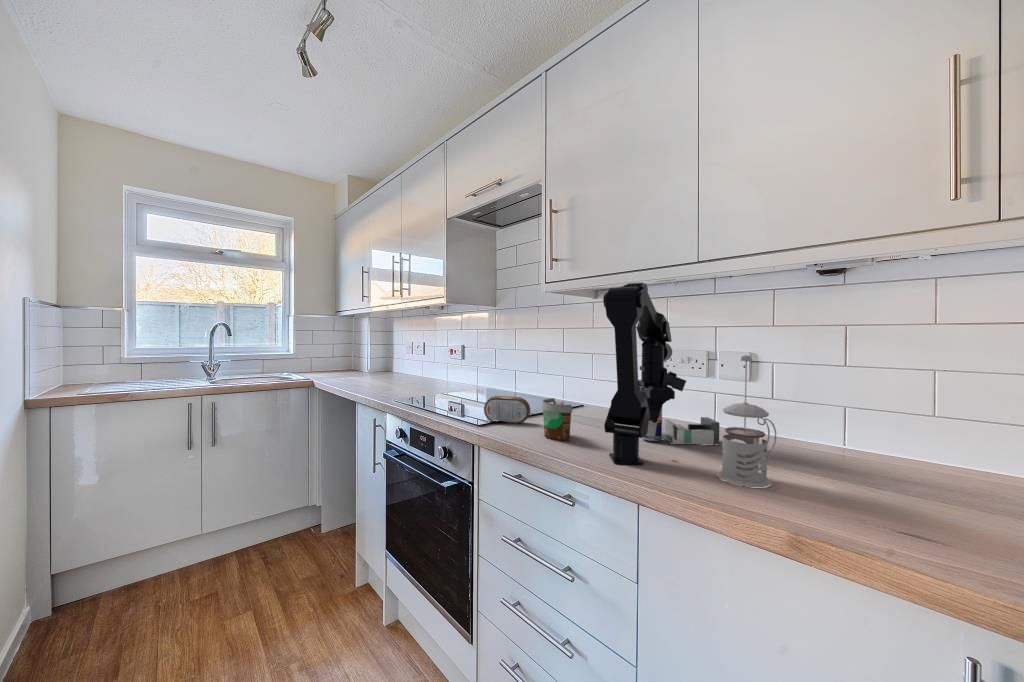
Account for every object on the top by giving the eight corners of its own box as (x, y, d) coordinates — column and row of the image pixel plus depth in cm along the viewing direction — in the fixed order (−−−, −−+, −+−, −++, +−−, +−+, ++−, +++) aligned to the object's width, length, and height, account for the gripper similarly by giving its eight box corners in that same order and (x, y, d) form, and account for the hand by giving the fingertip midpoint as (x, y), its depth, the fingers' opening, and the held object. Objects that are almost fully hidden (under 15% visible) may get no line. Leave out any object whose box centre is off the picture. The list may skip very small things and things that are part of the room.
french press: (705, 472, 85) (708, 353, 85) (752, 469, 88) (755, 353, 87) (741, 490, 76) (744, 356, 75) (792, 486, 78) (796, 356, 78)
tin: (530, 422, 131) (530, 396, 131) (528, 424, 128) (529, 398, 128) (485, 420, 134) (485, 395, 134) (482, 422, 131) (483, 396, 131)
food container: (533, 432, 118) (534, 398, 118) (553, 431, 120) (553, 397, 119) (550, 444, 106) (550, 406, 106) (571, 442, 108) (572, 405, 108)
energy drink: (650, 442, 107) (651, 397, 107) (636, 437, 112) (637, 394, 112) (666, 440, 109) (666, 396, 109) (651, 435, 114) (652, 393, 114)
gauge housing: (719, 445, 106) (720, 423, 106) (668, 444, 107) (669, 421, 107) (707, 438, 113) (708, 417, 113) (660, 437, 114) (660, 416, 114)
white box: (689, 440, 106) (689, 425, 106) (674, 440, 106) (674, 425, 106) (679, 433, 113) (679, 419, 113) (665, 433, 113) (665, 419, 113)
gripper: (696, 366, 101) (695, 429, 101) (671, 361, 119) (670, 414, 120) (651, 365, 101) (649, 427, 101) (632, 360, 120) (631, 413, 120)
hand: (651, 420), depth 111 cm, fingers closed on energy drink, 5 cm apart
